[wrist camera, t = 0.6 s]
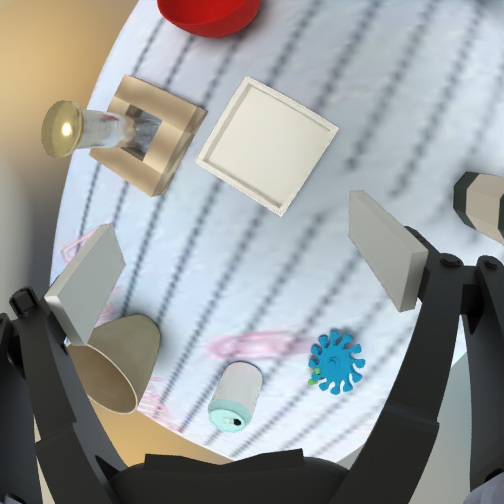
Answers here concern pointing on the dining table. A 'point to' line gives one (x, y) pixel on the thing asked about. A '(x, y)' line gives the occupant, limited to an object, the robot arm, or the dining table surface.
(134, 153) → the socket block
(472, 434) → the robot arm
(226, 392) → the can
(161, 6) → the ceramic cup
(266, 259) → the dining table surface
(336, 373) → the gear
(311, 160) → the tray
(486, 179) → the wine bottle
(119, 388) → the plant pot
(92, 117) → the pin
